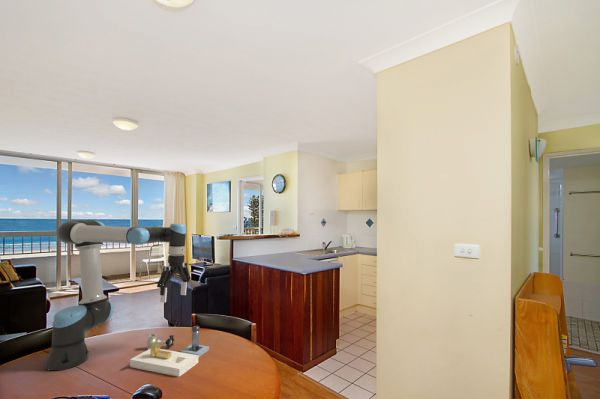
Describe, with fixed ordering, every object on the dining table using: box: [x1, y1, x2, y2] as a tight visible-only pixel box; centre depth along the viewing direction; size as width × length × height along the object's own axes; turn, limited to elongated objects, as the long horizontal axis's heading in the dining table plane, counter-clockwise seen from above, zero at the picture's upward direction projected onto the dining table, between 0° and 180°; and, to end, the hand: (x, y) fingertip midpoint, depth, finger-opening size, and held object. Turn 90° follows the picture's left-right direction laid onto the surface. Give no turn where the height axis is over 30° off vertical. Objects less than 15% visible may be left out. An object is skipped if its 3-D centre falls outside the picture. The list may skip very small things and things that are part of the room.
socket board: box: [129, 348, 200, 378], centre depth 123 cm, size 26×12×4 cm, turn 73°
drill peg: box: [191, 325, 200, 352], centre depth 135 cm, size 3×3×12 cm
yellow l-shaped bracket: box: [150, 342, 172, 359], centre depth 124 cm, size 9×3×5 cm, turn 73°
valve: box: [146, 333, 175, 350], centre depth 140 cm, size 7×7×12 cm
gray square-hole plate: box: [180, 343, 210, 358], centre depth 135 cm, size 10×8×2 cm
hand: (173, 298), depth 138 cm, fingers open, 13 cm apart
